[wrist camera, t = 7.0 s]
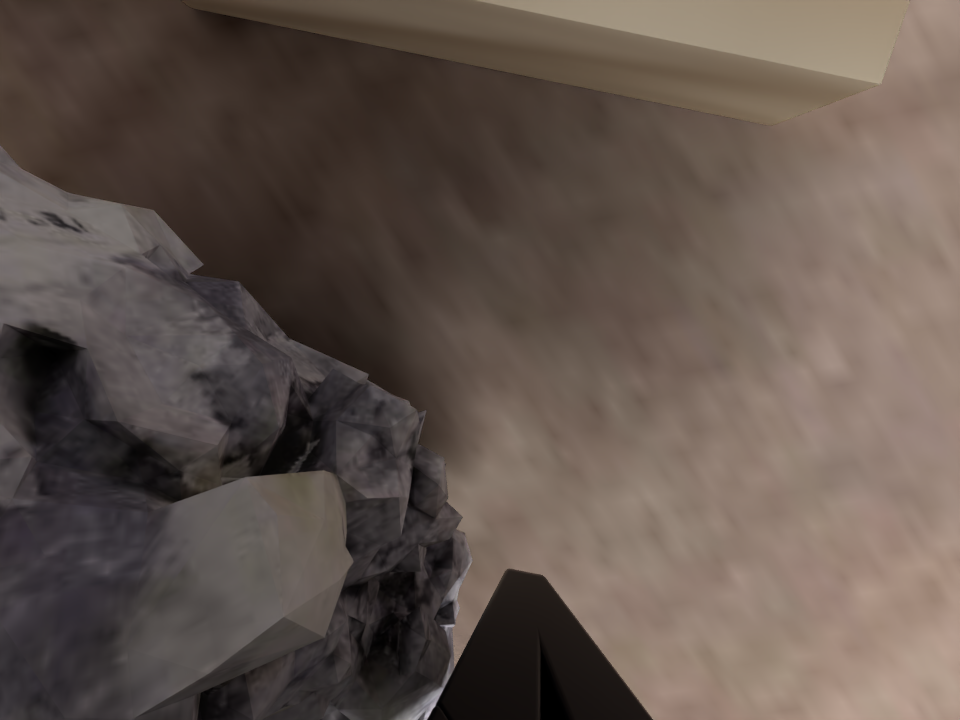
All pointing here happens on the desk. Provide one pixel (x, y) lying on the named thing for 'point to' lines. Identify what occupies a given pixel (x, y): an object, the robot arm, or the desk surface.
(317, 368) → the mineral specimen
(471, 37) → the corridor walls
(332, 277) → the desk surface
